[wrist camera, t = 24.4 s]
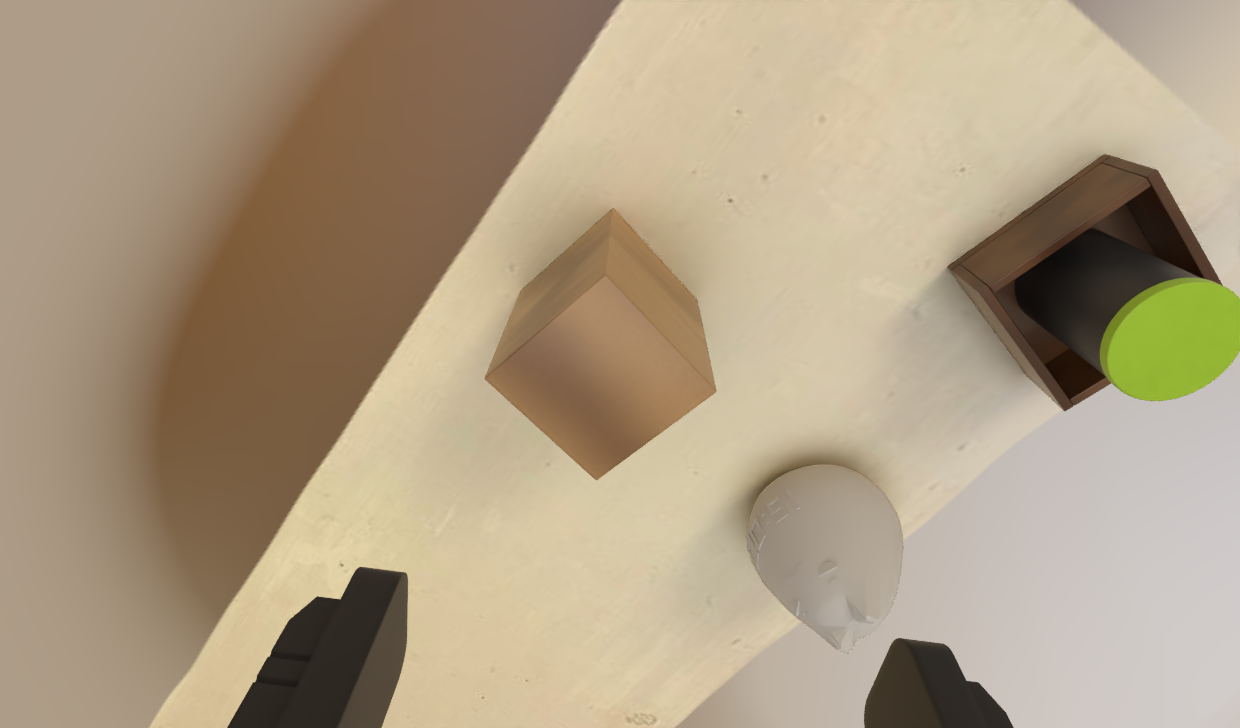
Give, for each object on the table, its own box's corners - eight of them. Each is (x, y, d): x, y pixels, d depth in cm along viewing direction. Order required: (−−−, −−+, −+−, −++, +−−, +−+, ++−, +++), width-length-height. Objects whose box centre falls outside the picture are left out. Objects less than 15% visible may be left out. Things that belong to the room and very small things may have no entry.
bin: (1105, 153, 41) (1158, 169, 36) (1179, 280, 44) (1236, 307, 40) (946, 266, 44) (979, 293, 40) (1027, 376, 47) (1065, 411, 43)
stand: (613, 207, 43) (605, 274, 32) (698, 301, 45) (717, 391, 34) (520, 291, 45) (483, 378, 34) (605, 375, 48) (596, 481, 37)
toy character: (787, 425, 49) (829, 541, 38) (912, 481, 51) (986, 606, 40) (714, 530, 53) (733, 662, 42) (832, 578, 55) (879, 716, 44)
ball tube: (1093, 202, 41) (1216, 254, 32) (1140, 280, 43) (1269, 349, 34) (993, 272, 43) (1084, 339, 34) (1043, 343, 45) (1141, 424, 36)
